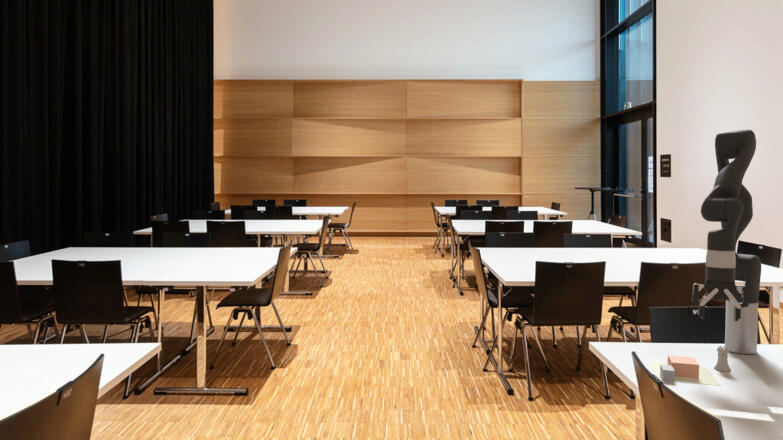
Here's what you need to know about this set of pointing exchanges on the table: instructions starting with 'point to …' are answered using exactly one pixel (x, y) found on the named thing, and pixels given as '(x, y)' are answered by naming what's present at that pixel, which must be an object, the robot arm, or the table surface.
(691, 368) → the terracotta brick
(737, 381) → the table surface
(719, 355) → the rook chess piece
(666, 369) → the slate brick
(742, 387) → the table surface
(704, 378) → the plate
